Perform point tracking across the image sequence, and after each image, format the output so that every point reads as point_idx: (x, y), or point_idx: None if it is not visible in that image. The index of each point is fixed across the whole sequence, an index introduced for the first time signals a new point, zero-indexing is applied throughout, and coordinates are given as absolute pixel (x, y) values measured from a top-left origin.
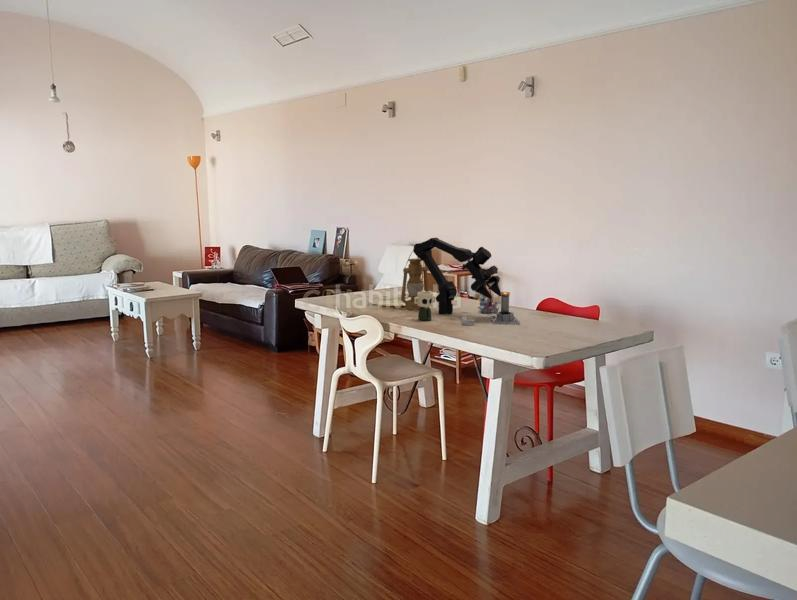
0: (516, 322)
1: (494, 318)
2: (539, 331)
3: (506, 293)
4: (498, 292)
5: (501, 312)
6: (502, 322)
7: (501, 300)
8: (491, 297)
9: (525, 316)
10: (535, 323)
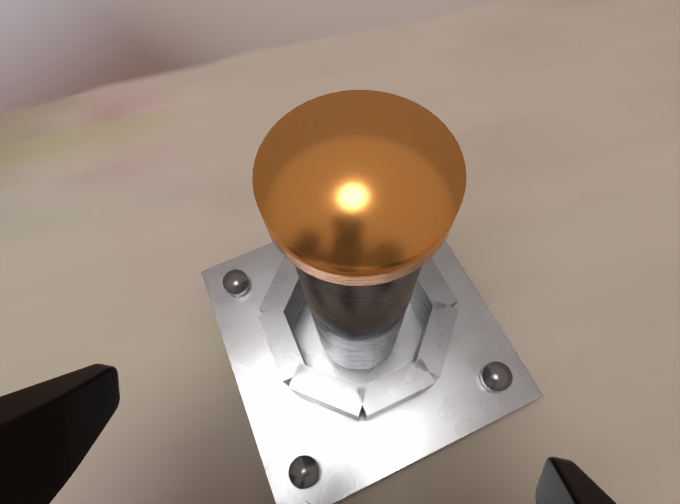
0: None
1: (359, 445)
2: (560, 46)
3: (443, 123)
4: (44, 444)
5: (394, 337)
6: (488, 312)
7: (405, 292)
8: (573, 465)
9: (57, 246)
10: None
